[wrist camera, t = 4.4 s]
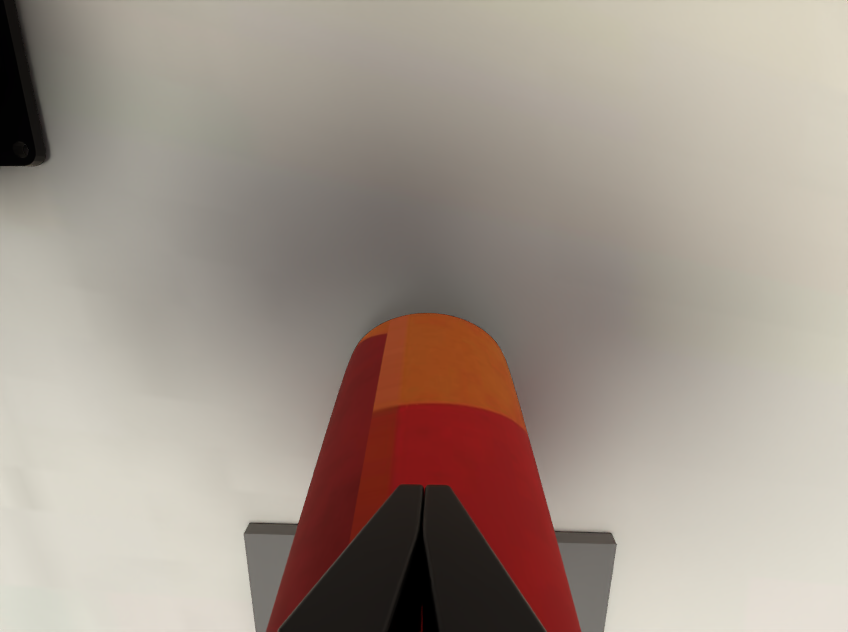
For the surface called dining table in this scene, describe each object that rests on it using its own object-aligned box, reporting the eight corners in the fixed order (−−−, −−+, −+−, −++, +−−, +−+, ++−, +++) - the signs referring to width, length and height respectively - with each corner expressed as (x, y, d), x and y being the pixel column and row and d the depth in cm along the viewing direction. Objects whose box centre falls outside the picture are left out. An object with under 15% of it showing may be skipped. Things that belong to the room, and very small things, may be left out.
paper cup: (384, 463, 20) (319, 1122, 9) (272, 334, 16) (-131, 1274, 4) (568, 410, 18) (803, 1195, 6) (496, 244, 14) (794, 1617, 2)
